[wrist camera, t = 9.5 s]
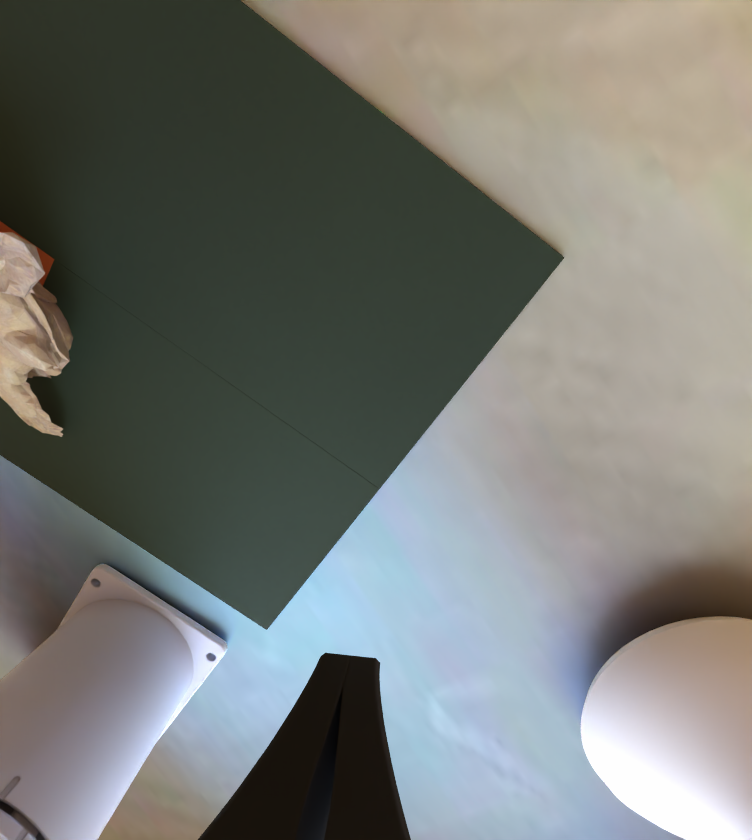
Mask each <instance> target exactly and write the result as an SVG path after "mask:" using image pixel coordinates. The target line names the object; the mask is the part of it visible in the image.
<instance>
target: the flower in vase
mask: <svg viewBox="0 0 752 840" xmlns="http://www.w3.org/2000/svg"><path fill="white" fill-rule="evenodd" d="M581 738H582V743H583V747H584V751H585V753H586V755H587V758H588V760H589V762H590V764H591V765H592V767H593V768H594V770H595V772H596V773H597V774H598V775H599V776H600V778H601V779H602V780H603V781H604V783H605V784H606V785H607V786H608V788H609V789H610V790H611V791H612V792H613V793H614V795H615V796H616V797H617V798H618V799H619V800H621V801H622V802H623V803H624V804H625V805H626V806H627V807H629V808H630V809H632V810H633V811H635V812H636V813H638V814H639V815H641V816H643V817H644V818H646V819H648V820H649V821H651V822H653V823H654V824H656V825H658V826H659V827H661V828H663V829H665V830H667V831H669V832H671V833H672V834H675V835H677V836H679V837H682V838H684V839H686V840H752V619H745V618H739V617H723V616H715V617H700V618H694V619H687V620H682V621H678V622H674V623H671V624H667V625H664V626H661V627H659V628H656V629H654V630H651V631H649V632H647V633H645V634H643V635H641V636H639V637H637V638H636V639H634V640H632V641H631V642H629V643H628V644H626V645H625V646H623V647H622V648H621V649H620V650H618V651H617V652H616V653H615V654H614V655H612V656H611V657H610V659H609V660H608V661H607V662H606V663H605V664H604V665H603V666H602V667H601V669H600V670H599V672H598V673H597V675H596V676H595V678H594V680H593V682H592V684H591V686H590V688H589V690H588V693H587V696H586V700H585V703H584V707H583V711H582V718H581Z"/></svg>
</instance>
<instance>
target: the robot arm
mask: <svg viewBox="0 0 752 840" xmlns="http://www.w3.org/2000/svg"><path fill="white" fill-rule="evenodd" d="M97 579H98V580H99V581H100V582H99V581H98V580H97ZM227 648H228V646H227V643H226V642H225V641H224V640H223V639H221V638H220V637H218V636H217V635H215V634H214V633H212V632H211V631H209V630H208V629H206V628H205V627H203V626H201V625H200V624H198V623H197V622H195V621H194V620H192V619H191V618H189V617H188V616H186V615H184V614H183V613H181V612H180V611H178V610H177V609H175V608H174V607H172V606H171V605H169V604H167V603H166V602H164V601H163V600H161V599H160V598H158V597H157V596H155V595H154V594H152V593H150V592H149V591H147V590H146V589H144V588H143V587H141V586H140V585H138V584H137V583H135V582H134V581H132V580H130V579H129V578H127V577H126V576H124V575H123V574H121V573H120V572H118V571H117V570H115V569H113V568H112V567H110V566H109V565H106V564H99V565H98V566H96V567H95V568H94V569H93V570H92V571H91V573H90V575H89V576H88V578H87V580H86V581H85V583H84V585H83V586H82V588H81V590H80V591H79V593H78V595H77V597H76V598H75V600H74V602H73V603H72V605H71V607H70V608H69V610H68V612H67V613H66V615H65V617H64V618H63V620H62V622H61V624H60V625H59V627H58V629H57V630H56V631H55V632H54V633H53V634H52V635H51V636H50V637H49V638H47V639H46V640H45V641H44V642H43V643H42V644H41V645H40V646H38V647H37V648H36V649H35V650H34V651H33V652H32V653H30V654H29V655H28V656H27V657H26V658H25V659H24V660H23V661H21V662H20V663H19V664H18V665H17V666H16V667H15V668H13V669H12V670H11V671H10V672H9V673H8V674H7V675H5V676H4V677H3V678H2V679H1V680H0V840H97V839H98V838H99V836H100V834H101V833H102V831H103V829H104V828H105V826H106V824H107V823H108V821H109V819H110V818H111V816H112V814H113V813H114V811H115V809H116V808H117V806H118V804H119V803H120V801H121V799H122V798H123V796H124V795H125V793H126V791H127V790H128V788H129V786H130V785H131V783H132V781H133V780H134V778H135V776H136V775H137V773H138V771H139V770H140V768H141V766H142V765H143V763H144V761H145V760H146V758H147V756H148V755H149V753H150V751H151V750H152V748H153V747H154V745H155V743H156V742H157V741H158V740H159V738H160V737H161V736H162V734H163V733H164V732H165V731H166V729H167V728H168V727H169V725H170V724H171V723H172V722H173V720H174V719H175V718H176V716H177V715H178V714H179V713H180V711H181V710H182V709H183V707H184V706H185V705H186V704H187V702H188V701H189V700H190V698H191V697H192V696H193V695H194V693H195V692H196V691H197V689H198V688H199V687H200V686H201V684H202V683H203V682H204V680H205V679H206V678H207V677H208V675H209V674H210V673H211V671H212V670H213V669H214V668H215V666H216V665H217V664H218V662H219V661H220V660H221V659H222V657H223V656H224V654H225V653H226V651H227ZM212 653H213V654H214V655H213V654H212ZM379 672H380V662H379V661H378V660H377V659H376V658H368V657H359V656H349V655H340V654H331V653H325V654H323V655H322V656H321V657H320V659H319V661H318V663H317V666H316V668H315V670H314V671H313V673H312V675H311V677H310V679H309V681H308V683H307V685H306V686H305V688H304V690H303V692H302V693H301V695H300V697H299V698H298V700H297V702H296V703H295V705H294V707H293V708H292V710H291V712H290V713H289V715H288V716H287V718H286V719H285V721H284V723H283V724H282V726H281V727H280V729H279V730H278V732H277V734H276V735H275V737H274V738H273V740H272V741H271V743H270V744H269V746H268V747H267V749H266V750H265V751H264V753H263V754H262V756H261V757H260V759H259V760H258V761H257V763H256V764H255V766H254V767H253V768H252V770H251V771H250V773H249V774H248V776H247V777H246V778H245V780H244V781H243V783H242V784H241V785H240V787H239V788H238V789H237V791H236V792H235V793H234V795H233V796H232V797H231V799H230V800H229V801H228V803H227V804H226V805H225V806H224V808H223V809H222V810H221V812H220V813H219V814H218V815H217V817H216V818H215V819H214V820H213V822H212V823H211V824H210V825H209V827H208V828H207V829H206V830H205V832H204V833H203V834H202V835H201V836H200V838H199V839H198V840H411V839H410V835H409V832H408V828H407V824H406V821H405V817H404V813H403V809H402V805H401V801H400V797H399V793H398V789H397V785H396V781H395V776H394V772H393V767H392V763H391V758H390V752H389V747H388V742H387V737H386V732H385V726H384V720H383V712H382V704H381V695H380V681H379Z"/></svg>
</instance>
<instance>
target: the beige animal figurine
mask: <svg viewBox="0 0 752 840" xmlns="http://www.w3.org/2000/svg"><path fill="white" fill-rule="evenodd" d="M44 275H45V272H44V269H43V266H42V263H41V260H40V257H39V254H38V251H37V248H36V246H34V245H33V244H31V243H29V242H28V241H26V240H24V239H23V238H21V237H20V236H18V235H16V234H15V233H13V232H5V233H1V232H0V397H1V398H2V399H3V400H4V401H5V402H7V403H8V404H9V405H10V406H11V408H12V409H13V410H14V412H15V413H16V414H17V415H18V416H19V417H20V418H21V419H22V420H23V421H25V422H26V423H27V424H28V425H29V426H33V427H34V428H36V429H37V430H39V431H40V432H42V433H48V434H52V435H58V436H60V437H62V435H63V434H62V433H61V431H62V430H63V428H61V427H59V426H57V425H55V424H53V423H52V422H51V420H50V417H49V415H48V414H47V413H46V412H44V411H43V410H42V408H41V406H40V404H39V402H38V399H37V397H36V396H35V395H34V393H33V392H32V390H31V389H30V384H29V383H27V382H26V380H27V378H33V376H44V377H49V378H51V376H50V375H52V376H57V375H59V374H61V371H62V369H63V367H64V366H65V365H66V364H67V363H68V362H69V361H70V358H69V352H68V351H69V350H70V348H71V344H72V341H73V336H72V333H71V330H70V327H69V325H68V322H67V320H66V319H65V317H64V315H63V314H62V312H61V310H60V308H59V307H58V306H57V305H56V303H57V299H56V297H55V296H54V295H53V294H51V293H50V292H49V291H48V290H46V289H45V288H44V287H43V286H42V285H41V283H40V282H39V280H40V279H41V278H42V277H43V276H44Z"/></svg>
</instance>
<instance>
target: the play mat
mask: <svg viewBox="0 0 752 840" xmlns="http://www.w3.org/2000/svg"><path fill="white" fill-rule="evenodd" d="M0 232H1V233H5V232H13V233H15V234H16V235H18V236H20V237H21V238H23V239H24V240H26V241H28V242H29V243H31V244H33V245H34V246H36V248H37V251H38V254H39V257H40V260H41V263H42V266H43V269H44V272H45V275H44V276H43V277H42V278H41V279H40V280H39V282H40V283H41V285H42V286H43V287H44V288H45V289H46V290H48V291H49V292H50V293H51V294H53V295H54V296H55V297H56V299H57V303H56V305H57V306H58V307H59V308H60V310H61V312H62V314H63V315H64V317H65V319H66V320H67V322H68V325H69V327H70V330H71V333H72V336H73V341H72V344H71V348H70V350H69V351H68V352H69V358H70V361H69V362H68V363H67V364H66V365H65V366H64V367H63V369H62V371H61V374H59V375H57V376H52V375H50V376H51V378H49V377H44V376H33V378H27V380H26V382H27V383H29V384H30V389H31V390H32V392H33V393H34V395H35V396H36V397H37V399H38V402H39V404H40V406H41V408H42V410H43V411H44V412H46V413H47V414H48V415H49V417H50V420H51V422H52V423H53V424H55V425H57V426H59V427H61V428H63V430H62V431H61V433H62V434H63V435H62V437H60V436H58V435H52V434H48V433H42V432H40V431H39V430H37V429H36V428H34V427H33V426H29V425H28V424H27V423H26V422H25V421H23V420H22V419H21V418H20V417H19V416H18V415H17V414H16V413H15V412H14V410H13V409H12V408H11V406H10V405H9V404H8V403H7V402H5V401H4V400H3V399H2V398H1V397H0V455H1V456H2V457H4V458H6V459H7V460H9V461H10V462H12V463H13V464H15V465H16V466H18V467H19V468H21V469H22V470H24V471H25V472H27V473H28V474H30V475H31V476H33V477H34V478H36V479H38V480H39V481H41V482H42V483H44V484H45V485H47V486H48V487H50V488H51V489H53V490H54V491H56V492H57V493H59V494H60V495H62V496H63V497H65V498H66V499H68V500H70V501H71V502H73V503H74V504H76V505H77V506H79V507H80V508H82V509H83V510H85V511H86V512H88V513H89V514H91V515H92V516H94V517H95V518H97V519H98V520H100V521H102V522H103V523H105V524H106V525H108V526H109V527H111V528H112V529H114V530H115V531H117V532H118V533H120V534H121V535H123V536H124V537H126V538H127V539H129V540H130V541H132V542H134V543H135V544H137V545H138V546H140V547H141V548H143V549H144V550H146V551H147V552H149V553H150V554H152V555H153V556H155V557H156V558H158V559H159V560H161V561H162V562H164V563H166V564H167V565H169V566H170V567H172V568H173V569H175V570H176V571H178V572H179V573H181V574H182V575H184V576H185V577H187V578H188V579H190V580H191V581H193V582H194V583H196V584H198V585H199V586H201V587H202V588H204V589H205V590H207V591H208V592H210V593H211V594H213V595H214V596H216V597H217V598H219V599H220V600H222V601H223V602H225V603H226V604H228V605H230V606H231V607H233V608H234V609H236V610H237V611H239V612H240V613H242V614H243V615H245V616H246V617H248V618H249V619H251V620H252V621H254V622H255V623H257V624H258V625H260V626H262V627H263V628H265V629H266V630H267V629H268V628H269V626H270V625H271V624H272V623H273V621H274V620H275V619H276V618H277V616H278V615H279V614H280V613H281V611H282V610H283V609H284V608H285V606H286V605H287V604H288V603H289V601H290V600H291V599H292V598H293V596H294V595H295V594H296V593H297V591H298V590H299V589H300V588H301V586H302V585H303V584H304V583H305V581H306V580H307V579H308V578H309V576H310V575H311V574H312V573H313V571H314V570H315V569H316V568H317V566H318V565H319V564H320V563H321V561H322V560H323V559H324V558H325V556H326V555H327V554H328V553H329V551H330V550H331V549H332V548H333V546H334V545H335V544H336V543H337V541H338V540H339V539H340V538H341V536H342V535H343V534H344V533H345V531H346V530H347V529H348V528H349V526H350V525H351V524H352V523H353V521H354V520H355V519H356V518H357V516H358V515H359V514H360V513H361V511H362V510H363V509H364V508H365V506H366V505H367V504H368V503H369V501H370V500H371V499H372V498H373V496H374V495H375V494H376V493H377V491H378V490H379V489H380V488H381V486H382V485H383V484H384V483H385V481H386V480H387V479H388V478H389V476H390V475H391V474H392V473H393V471H394V470H395V469H396V468H397V466H398V465H399V464H400V463H401V461H402V460H403V459H404V458H405V456H406V455H407V454H408V453H409V451H410V450H411V449H412V448H413V446H414V445H415V444H416V443H417V441H418V440H419V439H420V438H421V436H422V435H423V434H424V433H425V431H426V430H427V429H428V428H429V426H430V425H431V424H432V422H433V421H434V420H435V419H436V417H437V416H438V415H439V414H440V412H441V411H442V410H443V409H444V407H445V406H446V405H447V404H448V402H449V401H450V400H451V399H452V397H453V396H454V395H455V394H456V392H457V391H458V390H459V389H460V387H461V386H462V385H463V384H464V382H465V381H466V380H467V379H468V377H469V376H470V375H471V374H472V372H473V371H474V370H475V369H476V367H477V366H478V365H479V364H480V362H481V361H482V360H483V359H484V357H485V356H486V355H487V354H488V352H489V351H490V350H491V349H492V347H493V346H494V345H495V344H496V342H497V341H498V340H499V339H500V337H501V336H502V335H503V334H504V332H505V331H506V330H507V329H508V327H509V326H510V325H511V324H512V322H513V321H514V320H515V319H516V317H517V316H518V315H519V314H520V312H521V311H522V310H523V309H524V307H525V306H526V305H527V304H528V302H529V301H530V300H531V299H532V297H533V296H534V295H535V294H536V292H537V291H538V290H539V289H540V287H541V286H542V285H543V284H544V282H545V281H546V280H547V279H548V277H549V276H550V275H551V274H552V272H553V271H554V270H555V269H556V267H557V266H558V265H559V264H560V262H561V261H562V260H563V259H564V257H563V256H562V255H560V254H559V253H558V252H557V251H555V250H554V249H553V248H552V247H550V246H549V245H548V244H547V243H545V242H544V241H543V240H542V239H540V238H539V237H538V236H536V235H535V234H534V233H533V232H531V231H530V230H529V229H528V228H526V227H525V226H524V225H523V224H521V223H520V222H519V221H518V220H516V219H515V218H514V217H513V216H511V215H510V214H509V213H507V212H506V211H505V210H504V209H502V208H501V207H500V206H499V205H497V204H496V203H495V202H494V201H492V200H491V199H490V198H489V197H487V196H486V195H485V194H484V193H482V192H481V191H480V190H478V189H477V188H476V187H475V186H473V185H472V184H471V183H470V182H468V181H467V180H466V179H465V178H463V177H462V176H461V175H460V174H458V173H457V172H456V171H455V170H453V169H452V168H451V167H449V166H448V165H447V164H446V163H444V162H443V161H442V160H441V159H439V158H438V157H437V156H436V155H434V154H433V153H432V152H431V151H429V150H428V149H427V148H426V147H424V146H423V145H422V144H420V143H419V142H418V141H417V140H415V139H414V138H413V137H412V136H410V135H409V134H408V133H407V132H405V131H404V130H403V129H402V128H400V127H399V126H398V125H397V124H395V123H394V122H393V121H391V120H390V119H389V118H388V117H386V116H385V115H384V114H383V113H381V112H380V111H379V110H378V109H376V108H375V107H374V106H373V105H371V104H370V103H369V102H368V101H366V100H365V99H364V98H362V97H361V96H360V95H359V94H357V93H356V92H355V91H354V90H352V89H351V88H350V87H349V86H347V85H346V84H345V83H344V82H342V81H341V80H340V79H339V78H337V77H336V76H335V75H333V74H332V73H331V72H330V71H328V70H327V69H326V68H325V67H323V66H322V65H321V64H320V63H318V62H317V61H316V60H315V59H313V58H312V57H311V56H309V55H308V54H307V53H306V52H304V51H303V50H302V49H301V48H299V47H298V46H297V45H296V44H294V43H293V42H292V41H291V40H289V39H288V38H287V37H286V36H284V35H283V34H282V33H280V32H279V31H278V30H277V29H275V28H274V27H273V26H272V25H270V24H269V23H268V22H267V21H265V20H264V19H263V18H262V17H260V16H259V15H258V14H257V13H255V12H254V11H253V10H251V9H250V8H249V7H248V6H246V5H245V4H244V3H243V2H241V1H240V0H0Z"/></svg>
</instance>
